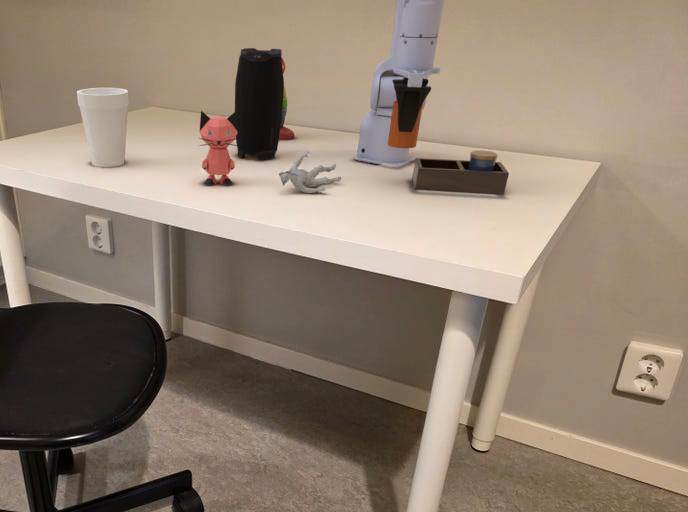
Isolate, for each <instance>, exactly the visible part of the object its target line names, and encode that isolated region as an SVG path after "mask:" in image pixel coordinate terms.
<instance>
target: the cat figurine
mask: <svg viewBox="0 0 688 512" xmlns="http://www.w3.org/2000/svg"><path fill="white" fill-rule="evenodd" d="M237 133H238V126H237V111H235V110H234V112H233V113H232V114H230V115H229V116H228V117H227V118H226V117H223V116H213V117H209V116H208V115H207V114H206V113H205V112H204V111H203V110H200V120H199V134H200V137H199V139H200V140H202V141H203V142H204V143H205V144H199V145H198V146H200V147H202V146H208V147H209V149H208V152H207V155H206V157H205V159H204V160H202V165H201V168H202V169H203V170H204V171H205V172H206V173H207V174H208V176H207V178H206V179H205V180H204V182H203V185H204V186H214V185H216V184H217V183H218V181H217V178H216V176H221V177H220V179H219V183H220V184H221V185H222V186H232V185H233V182H232V180H231V178H230V177H229V176H228V175H229V174H230V172H231V171H233V170H234V169H235V168H236V165H235V161H234V160H233V159H232V158H231V155H230V152H229V150H228V147H229V146H234V147H235V146H236V147H237V146H239V145H237V144H234V143H233V142H234V141H235V140H236V139H238V138H236V135H237ZM232 143H233V144H232Z"/></svg>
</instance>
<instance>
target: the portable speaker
mask: <svg viewBox="0 0 688 512" xmlns="http://www.w3.org/2000/svg"><path fill="white" fill-rule="evenodd" d="M282 54H283V53H282V49H281V48H271V49H269V50H267V49H265V50H263V49H257V48H255V47H245V48H242V49H240V54H239V56H238V63H237V70H236V75H235V76H236V77H235V81H234V82H235V83H234V112H235V111H237V126H238V133H237V135H236V137H235V140H236V141H235V142H236V145H239V146H236V148H237V157H238V158H240V159H245V157H246V156H251V157H256V158H257V160H259V161H267V160H268V161H269V160H273V159H275V156H276V154H277V152H278V147H279V143H280V142H279V141H280V139H279V136H280V130H281V123H282V115H283V96H284V87H285V80H284V79H285V78H284V73H283V68H282V59H281V57H282V56H283V55H282ZM236 138H238V139H236Z"/></svg>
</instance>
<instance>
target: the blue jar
mask: <svg viewBox="0 0 688 512" xmlns="http://www.w3.org/2000/svg"><path fill="white" fill-rule="evenodd" d="M498 156H499V154H498V153H497V152H494V151H490V150H472V151H470V154H469V160H468V161H469V166H468V170H477V171H493V170H494V166H495V162H497V159H498Z"/></svg>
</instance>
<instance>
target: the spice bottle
mask: <svg viewBox="0 0 688 512" xmlns="http://www.w3.org/2000/svg"><path fill="white" fill-rule="evenodd" d="M422 107H423V104H422V106H421V109H420V111H419V114H418V117H417V120H416V123H415V126H414V128H413V130H412V132H399V129H398V102H397V100H396V101H394V103H393V110H392V117H391V124H390V131H389V138H388V145H389V146H391V147H395V148H410V149H413V148H416V147H417V143H418V137H419V131H420V124H421V118H422V113H423V110H422Z"/></svg>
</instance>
